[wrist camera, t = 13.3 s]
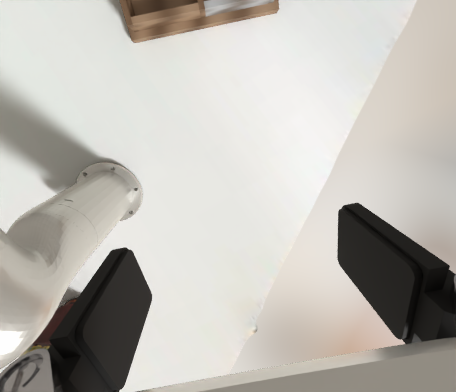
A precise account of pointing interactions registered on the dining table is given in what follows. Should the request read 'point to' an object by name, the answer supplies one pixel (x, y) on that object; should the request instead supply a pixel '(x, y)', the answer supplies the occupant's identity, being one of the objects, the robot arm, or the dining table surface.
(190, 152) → the dining table surface
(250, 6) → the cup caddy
